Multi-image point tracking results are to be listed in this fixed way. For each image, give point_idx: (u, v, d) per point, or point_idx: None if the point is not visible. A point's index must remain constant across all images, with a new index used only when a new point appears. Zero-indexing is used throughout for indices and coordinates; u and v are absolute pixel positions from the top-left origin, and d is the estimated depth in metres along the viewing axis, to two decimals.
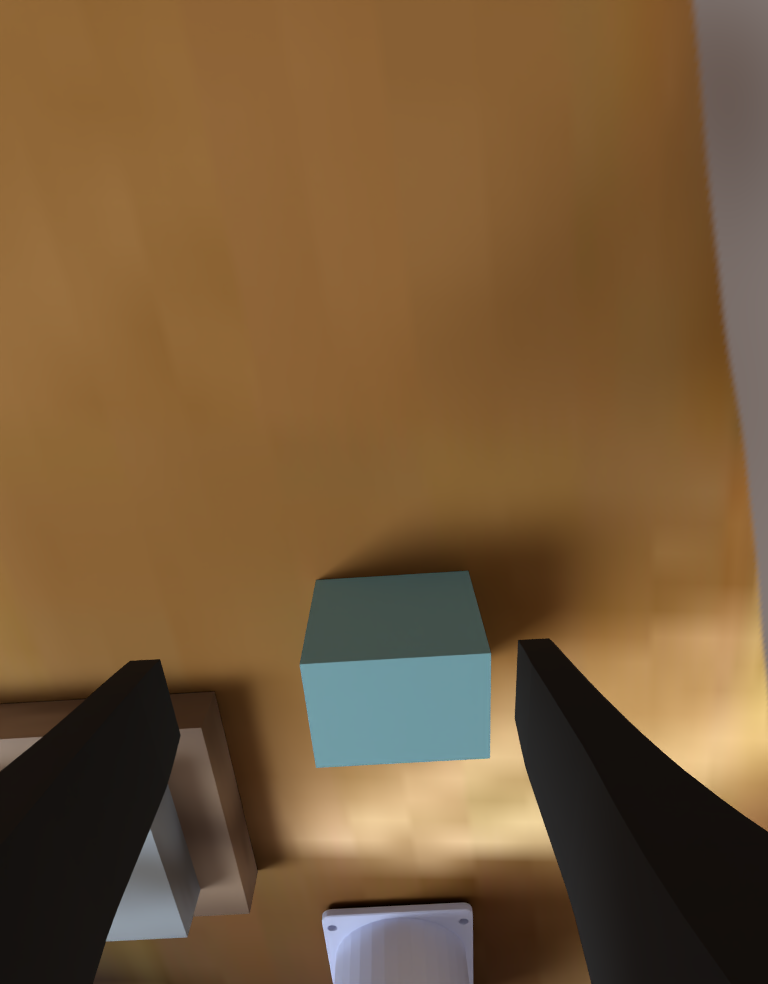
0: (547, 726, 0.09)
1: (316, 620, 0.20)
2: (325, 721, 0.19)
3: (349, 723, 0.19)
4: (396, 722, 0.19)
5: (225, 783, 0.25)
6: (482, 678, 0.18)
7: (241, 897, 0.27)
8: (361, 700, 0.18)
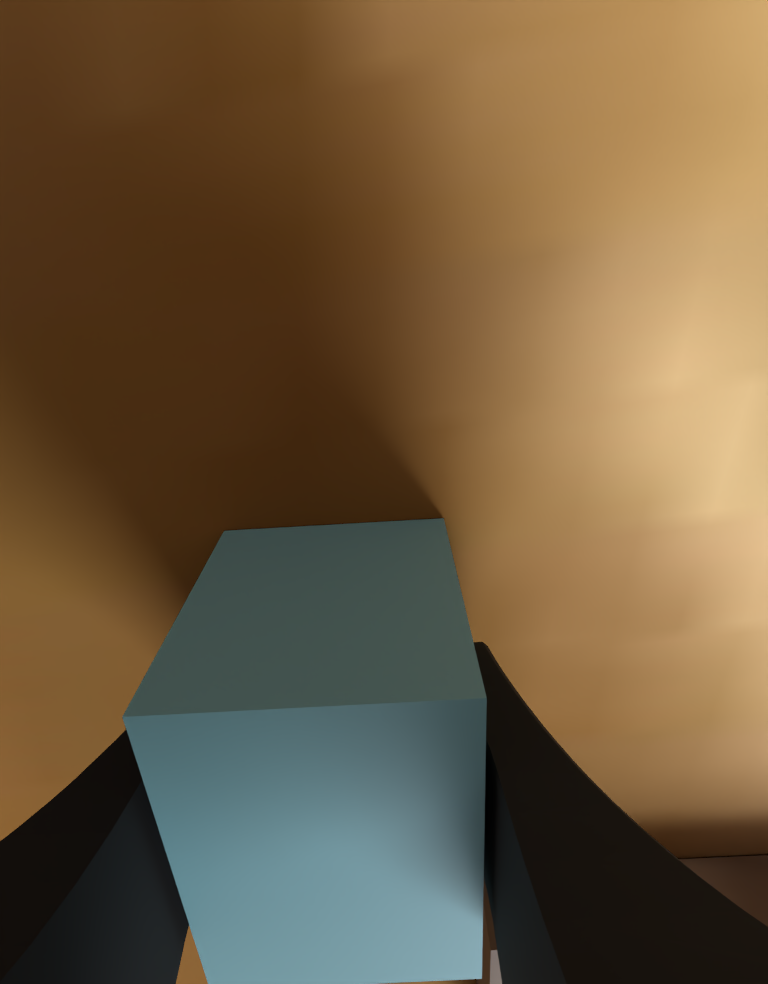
0: None
1: None
2: (352, 965, 0.09)
3: (357, 936, 0.09)
4: (354, 869, 0.08)
5: None
6: (205, 729, 0.07)
7: None
8: (294, 919, 0.09)
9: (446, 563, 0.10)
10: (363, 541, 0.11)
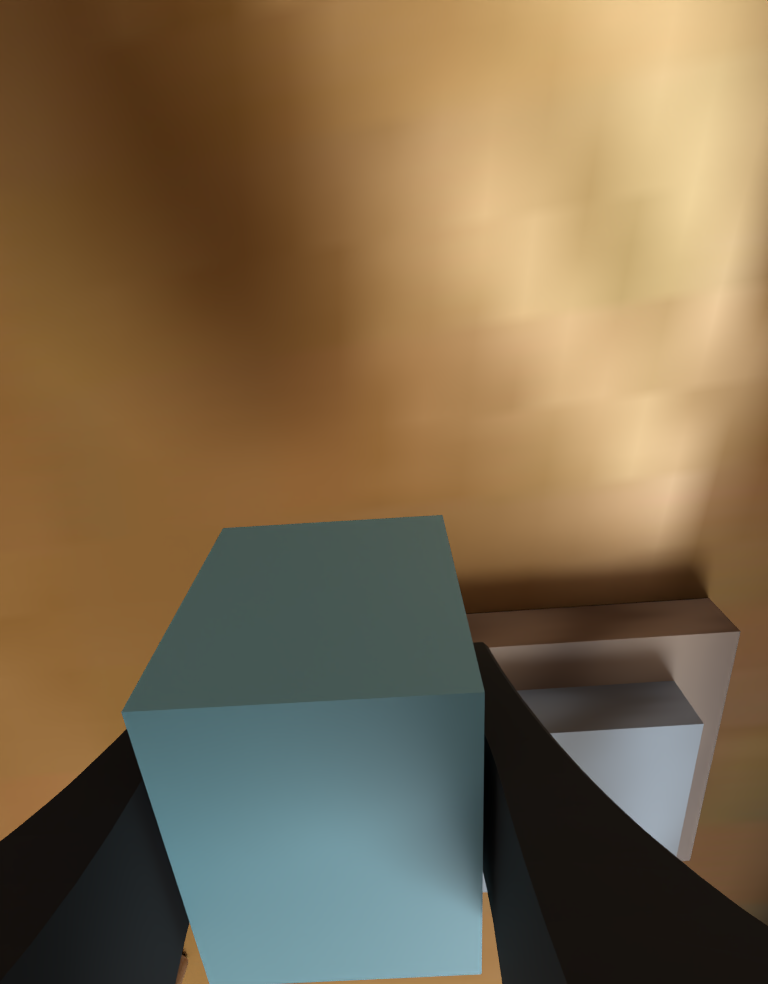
0: None
1: None
2: (351, 960, 0.09)
3: (357, 931, 0.09)
4: (353, 864, 0.08)
5: (508, 630, 0.20)
6: (204, 724, 0.07)
7: (703, 638, 0.19)
8: (294, 915, 0.09)
9: (445, 559, 0.10)
10: (362, 538, 0.11)
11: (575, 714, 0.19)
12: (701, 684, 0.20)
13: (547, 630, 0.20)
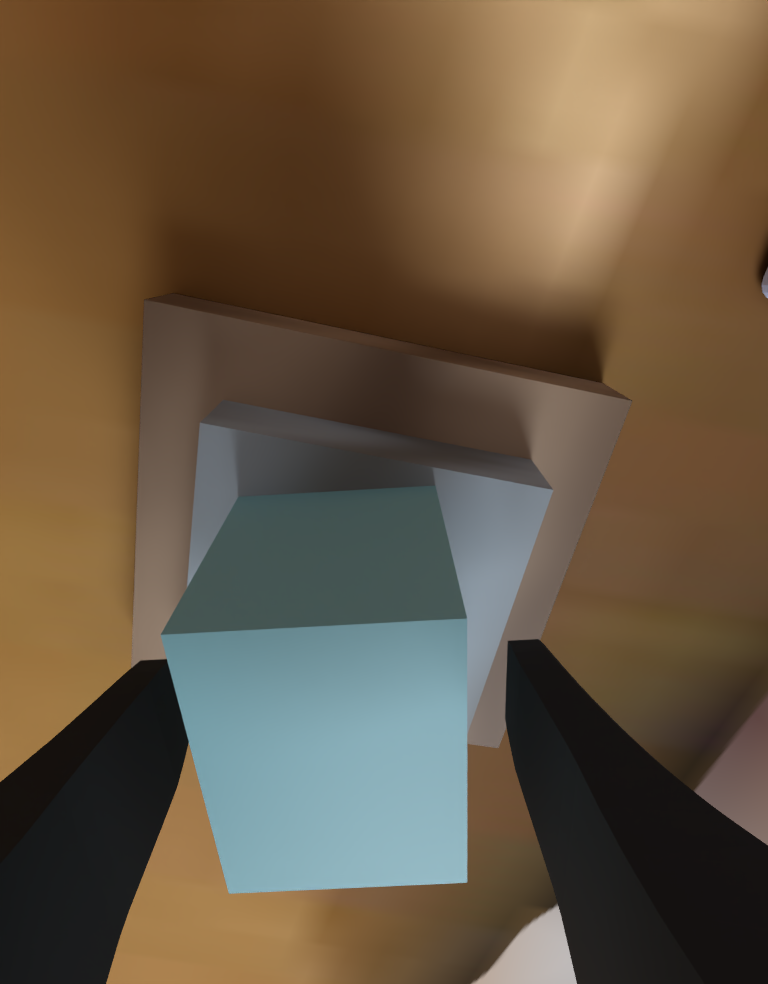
0: (535, 727, 0.09)
1: None
2: (353, 869, 0.10)
3: (358, 839, 0.10)
4: (355, 777, 0.09)
5: (328, 332, 0.14)
6: (230, 645, 0.08)
7: (582, 397, 0.14)
8: (303, 824, 0.10)
9: (436, 520, 0.11)
10: (363, 504, 0.12)
11: (384, 447, 0.13)
12: (565, 476, 0.15)
13: (380, 343, 0.14)
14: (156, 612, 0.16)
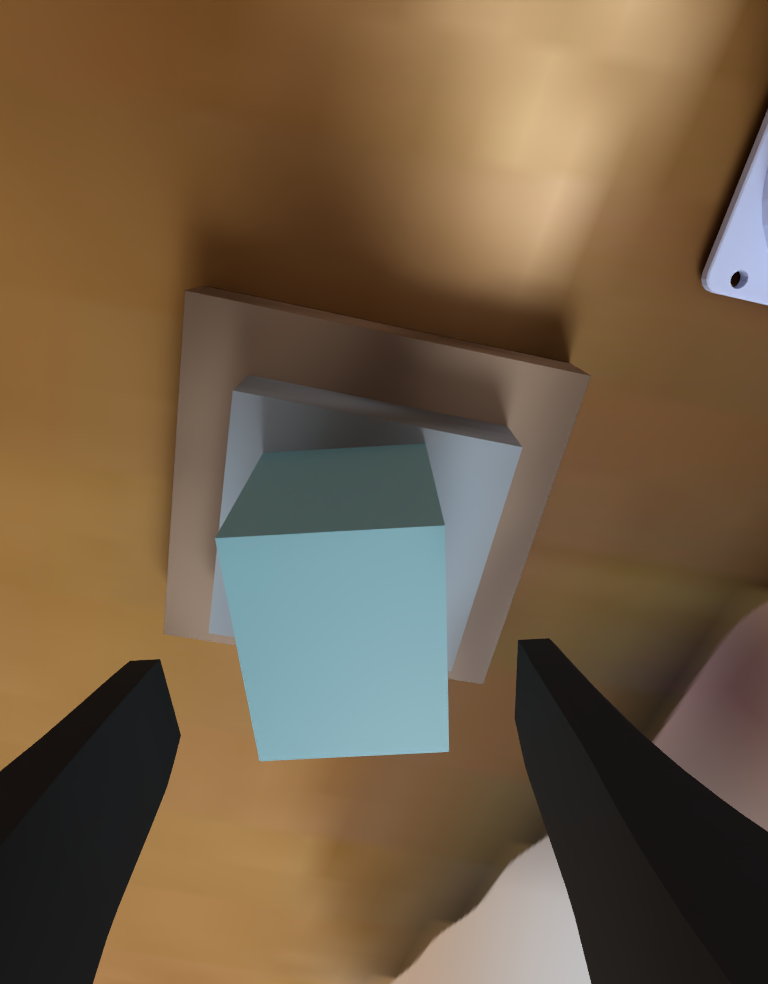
0: (547, 726, 0.09)
1: None
2: (359, 738, 0.13)
3: (362, 713, 0.13)
4: (360, 657, 0.12)
5: (336, 318, 0.17)
6: (266, 547, 0.11)
7: (549, 373, 0.17)
8: (319, 699, 0.13)
9: (425, 466, 0.14)
10: (366, 456, 0.15)
11: (383, 412, 0.16)
12: (536, 440, 0.18)
13: (380, 328, 0.17)
14: (188, 560, 0.19)
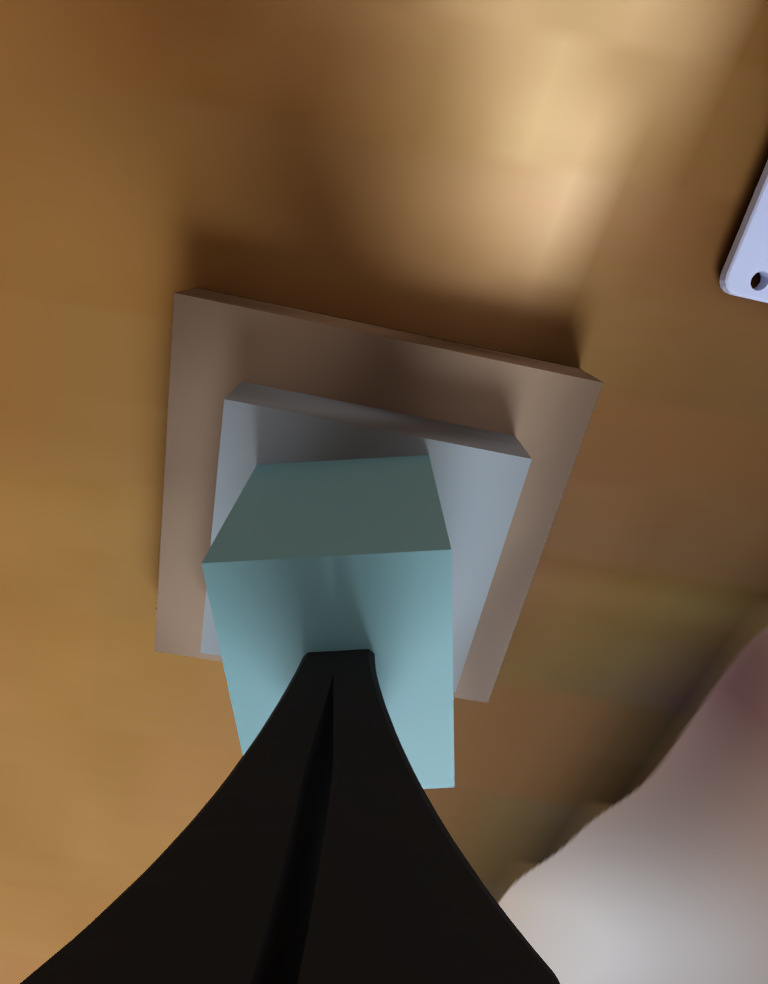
0: None
1: None
2: None
3: None
4: None
5: (334, 321, 0.16)
6: (257, 573, 0.10)
7: (559, 380, 0.16)
8: None
9: (429, 481, 0.13)
10: (366, 469, 0.14)
11: (384, 422, 0.15)
12: (545, 450, 0.17)
13: (381, 332, 0.16)
14: (179, 575, 0.18)
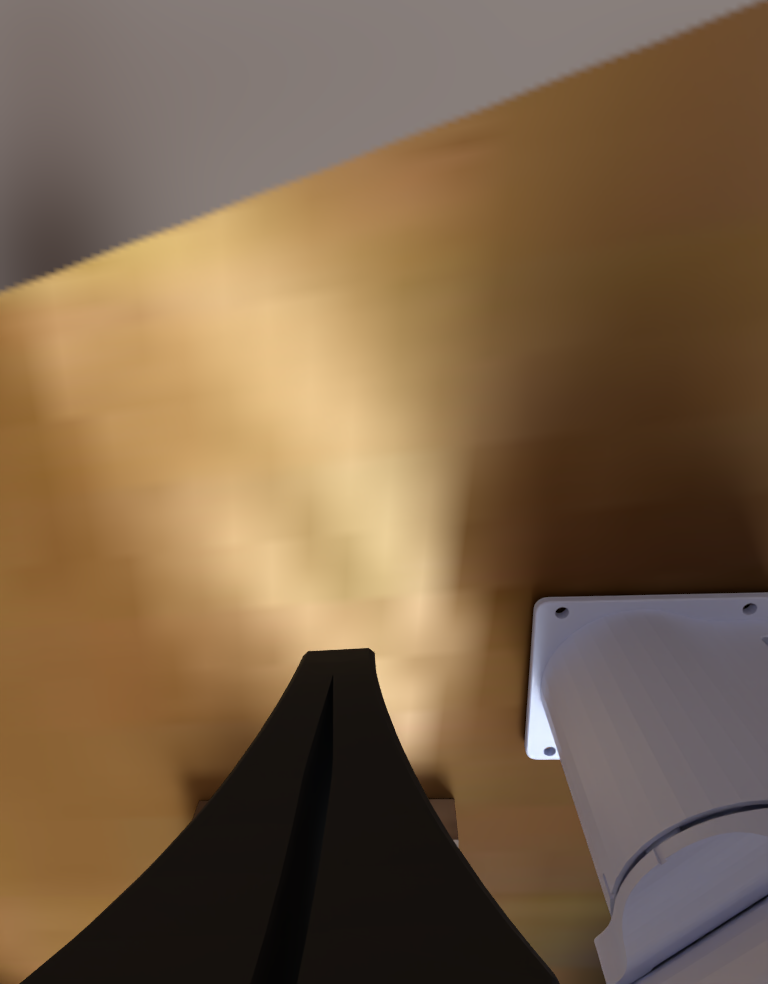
0: None
1: None
2: None
3: None
4: None
5: None
6: None
7: None
8: None
9: None
10: None
11: None
12: None
13: None
14: None
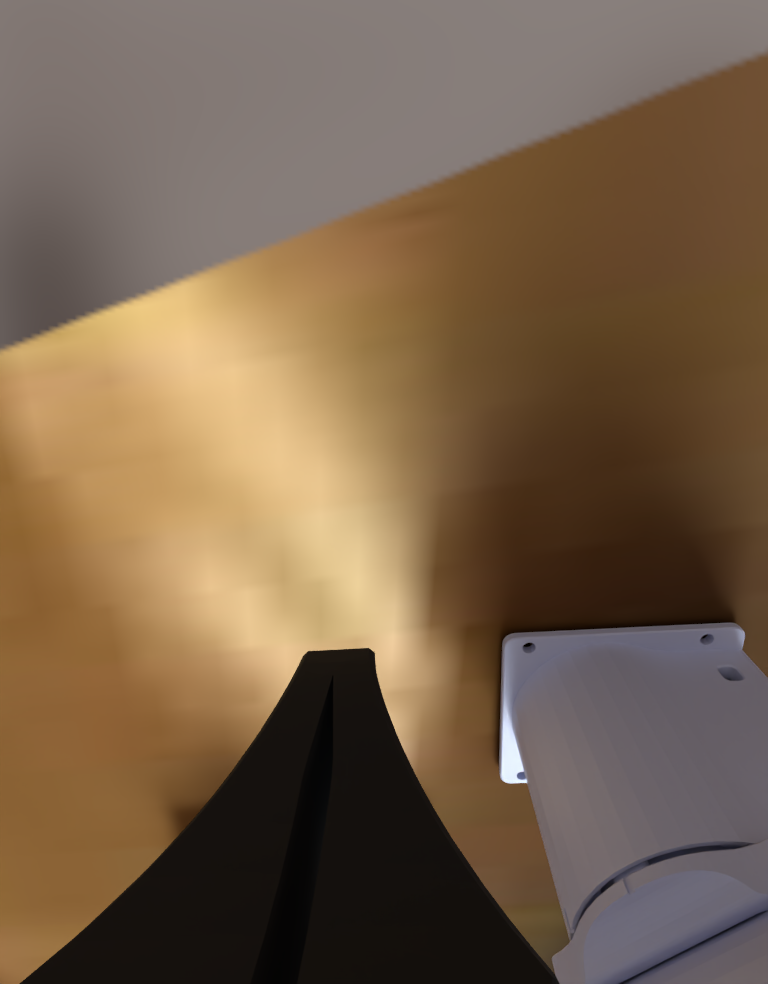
0: None
1: None
2: None
3: None
4: None
5: None
6: None
7: None
8: None
9: None
10: None
11: None
12: None
13: None
14: None
